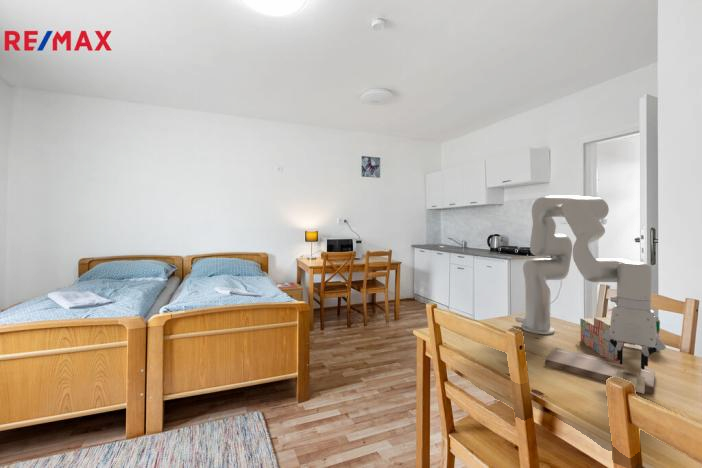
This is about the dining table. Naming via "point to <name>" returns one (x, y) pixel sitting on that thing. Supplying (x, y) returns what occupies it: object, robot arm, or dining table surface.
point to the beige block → (632, 366)
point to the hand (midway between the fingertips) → (632, 364)
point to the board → (593, 366)
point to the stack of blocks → (598, 336)
